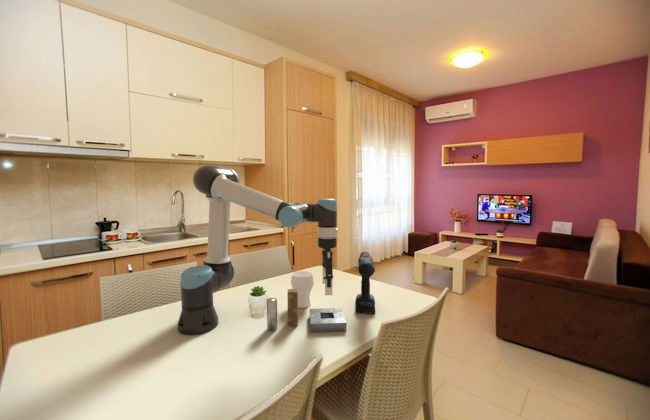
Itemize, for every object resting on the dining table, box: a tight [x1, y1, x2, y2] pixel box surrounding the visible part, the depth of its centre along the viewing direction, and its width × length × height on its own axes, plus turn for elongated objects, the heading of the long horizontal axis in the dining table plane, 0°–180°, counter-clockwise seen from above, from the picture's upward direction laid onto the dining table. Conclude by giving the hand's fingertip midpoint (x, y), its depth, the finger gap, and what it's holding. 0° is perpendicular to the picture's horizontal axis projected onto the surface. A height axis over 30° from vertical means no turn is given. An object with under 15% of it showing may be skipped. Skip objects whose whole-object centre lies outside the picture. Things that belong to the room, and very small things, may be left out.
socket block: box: [309, 307, 348, 334], centre depth 122 cm, size 14×14×4 cm
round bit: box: [266, 297, 278, 333], centre depth 117 cm, size 4×4×12 cm
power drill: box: [355, 251, 376, 315], centre depth 137 cm, size 9×23×25 cm, turn 174°
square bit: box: [287, 288, 299, 327], centre depth 121 cm, size 4×4×14 cm
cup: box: [290, 270, 315, 309], centre depth 141 cm, size 11×11×15 cm
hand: (327, 288), depth 121 cm, fingers open, 13 cm apart
